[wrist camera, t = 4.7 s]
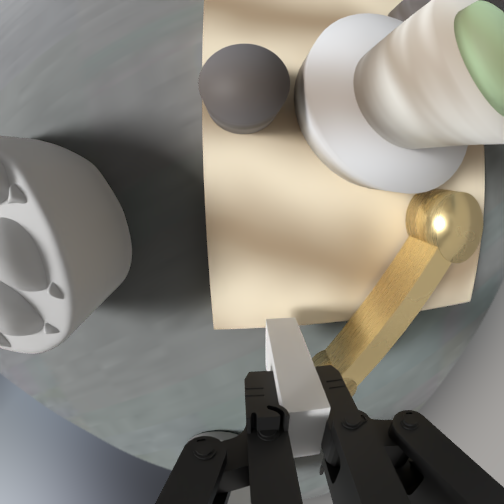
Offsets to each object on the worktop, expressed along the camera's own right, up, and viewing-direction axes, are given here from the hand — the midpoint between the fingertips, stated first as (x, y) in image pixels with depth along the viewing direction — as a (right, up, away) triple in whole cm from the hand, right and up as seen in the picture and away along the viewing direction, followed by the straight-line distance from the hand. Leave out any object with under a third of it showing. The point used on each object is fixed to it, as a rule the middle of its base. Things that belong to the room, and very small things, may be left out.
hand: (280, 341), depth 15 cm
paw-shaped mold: (-15, +6, +2) cm, 16 cm away
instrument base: (+5, +12, +1) cm, 13 cm away
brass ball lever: (+6, +3, +1) cm, 7 cm away
